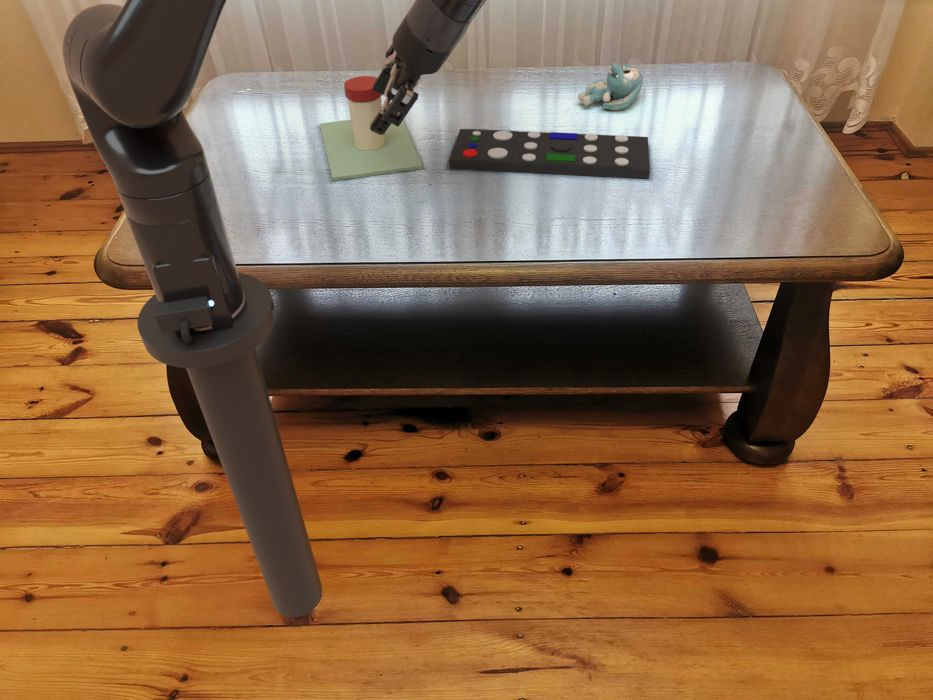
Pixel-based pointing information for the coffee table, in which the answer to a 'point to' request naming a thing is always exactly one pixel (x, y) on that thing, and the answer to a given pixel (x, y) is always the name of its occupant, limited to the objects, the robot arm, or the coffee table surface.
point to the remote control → (551, 153)
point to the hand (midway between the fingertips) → (377, 110)
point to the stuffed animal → (615, 88)
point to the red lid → (361, 89)
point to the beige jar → (365, 124)
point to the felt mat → (367, 152)
